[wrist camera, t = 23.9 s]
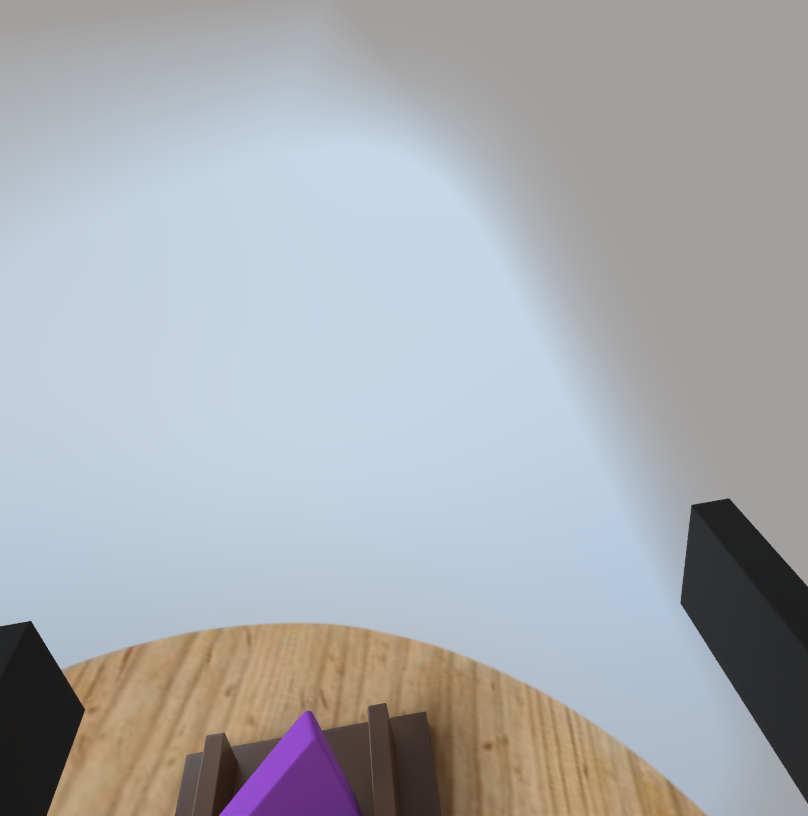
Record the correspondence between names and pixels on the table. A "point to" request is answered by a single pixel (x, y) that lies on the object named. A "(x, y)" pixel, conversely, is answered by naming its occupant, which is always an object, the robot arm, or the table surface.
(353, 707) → the table surface
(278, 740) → the rack
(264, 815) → the arrowhead
